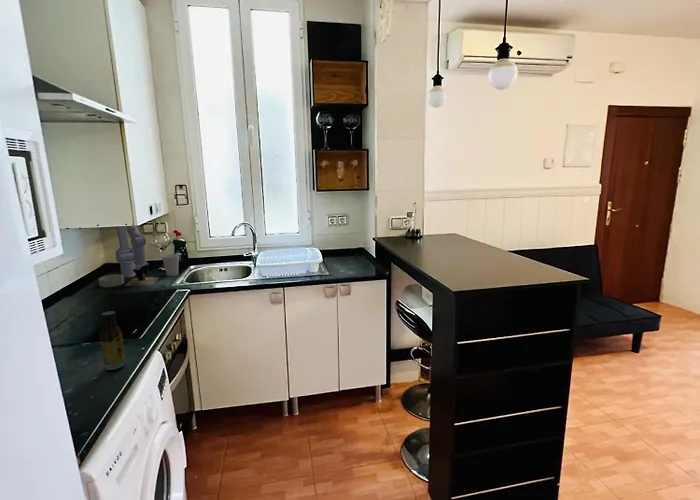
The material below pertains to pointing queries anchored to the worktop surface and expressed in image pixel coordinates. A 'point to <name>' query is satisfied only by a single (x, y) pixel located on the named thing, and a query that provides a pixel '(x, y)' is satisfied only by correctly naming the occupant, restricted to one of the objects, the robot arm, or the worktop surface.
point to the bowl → (111, 280)
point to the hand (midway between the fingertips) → (142, 278)
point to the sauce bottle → (111, 340)
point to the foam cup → (171, 264)
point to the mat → (143, 284)
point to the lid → (144, 281)
